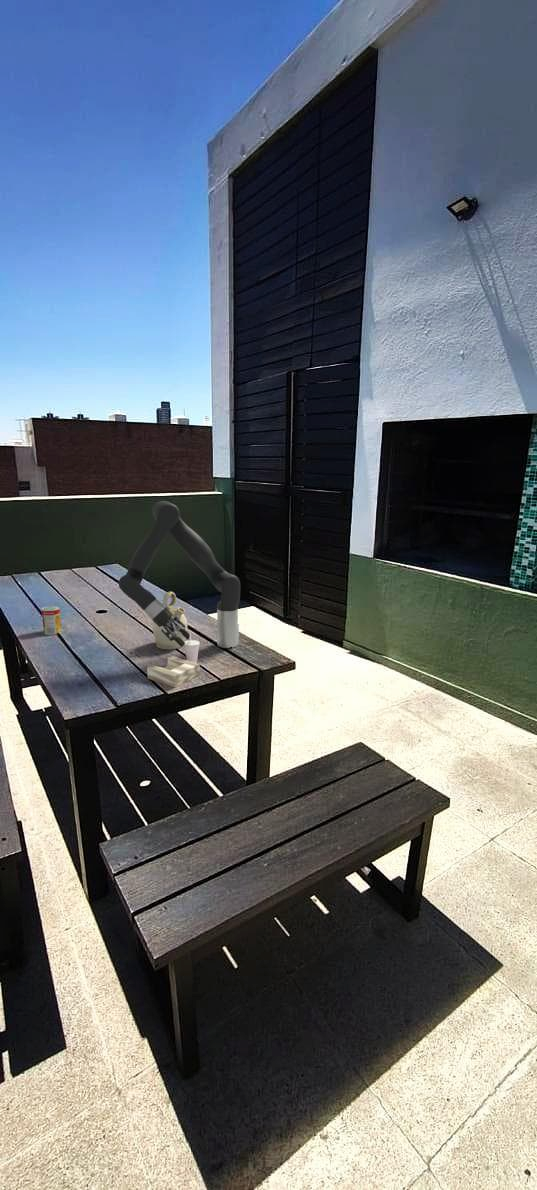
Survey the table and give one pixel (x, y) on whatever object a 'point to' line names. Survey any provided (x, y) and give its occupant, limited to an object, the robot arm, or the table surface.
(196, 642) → the white cup with straw
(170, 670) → the notched board
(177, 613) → the jug
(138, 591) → the robot arm
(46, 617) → the canned food
